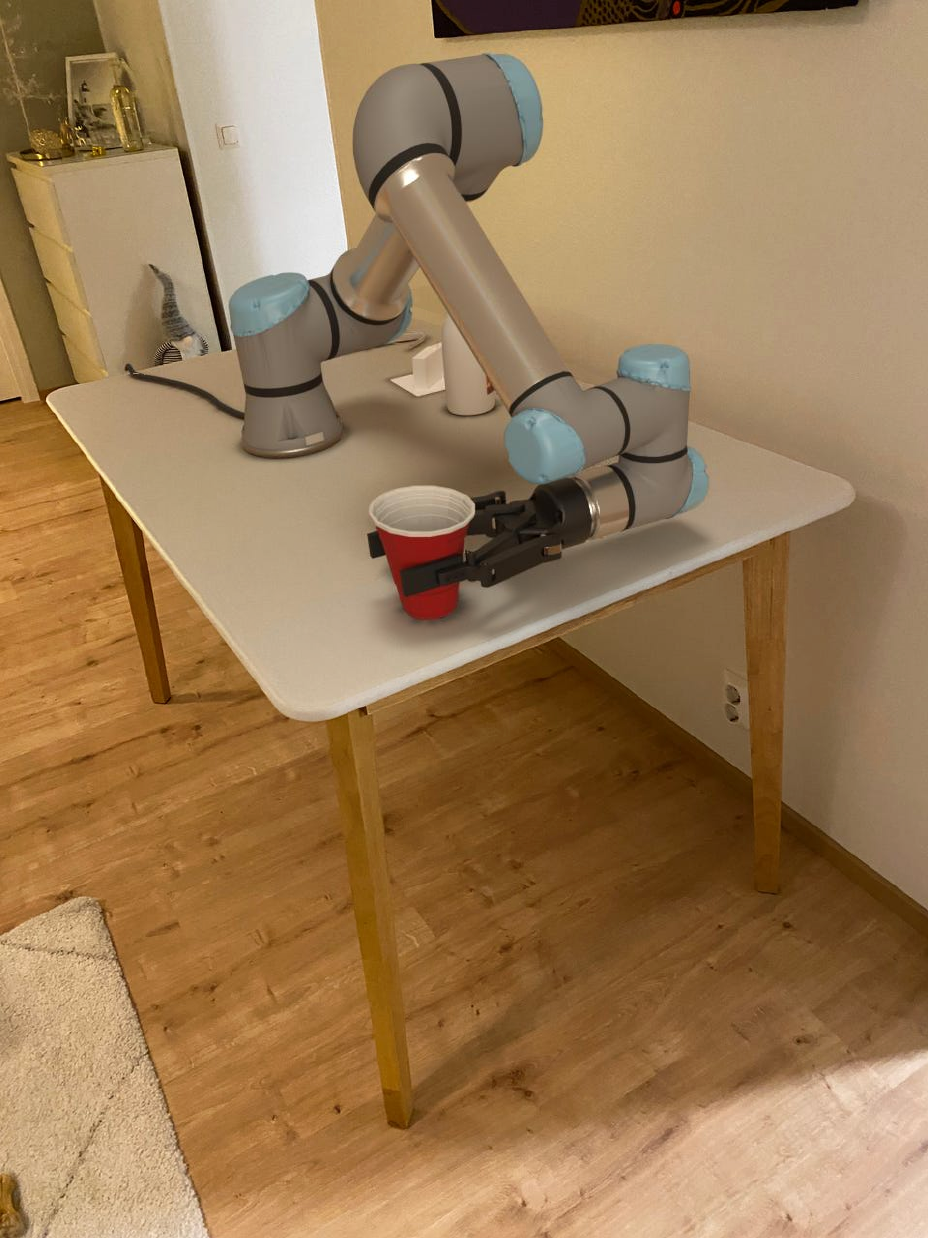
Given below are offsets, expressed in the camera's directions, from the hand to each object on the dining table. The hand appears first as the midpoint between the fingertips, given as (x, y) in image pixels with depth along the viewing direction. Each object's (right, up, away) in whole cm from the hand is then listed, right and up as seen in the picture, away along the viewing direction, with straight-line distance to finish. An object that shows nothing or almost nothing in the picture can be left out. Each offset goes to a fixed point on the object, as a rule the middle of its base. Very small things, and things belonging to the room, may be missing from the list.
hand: (385, 564), depth 100 cm
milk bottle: (+9, +28, +56) cm, 63 cm away
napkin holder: (+4, +36, +69) cm, 78 cm away
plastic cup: (+5, -4, +5) cm, 8 cm away
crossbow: (-7, +47, +88) cm, 100 cm away
